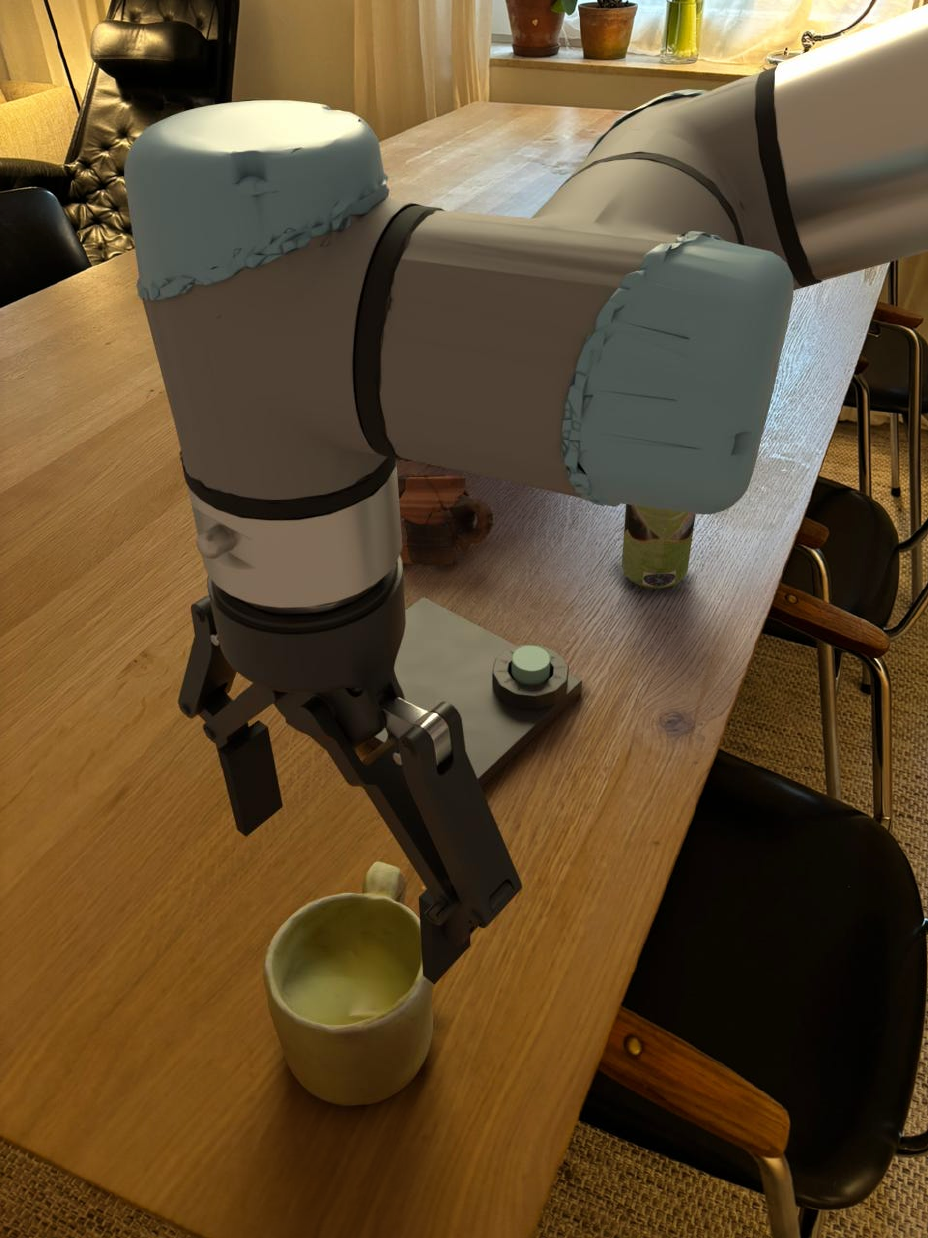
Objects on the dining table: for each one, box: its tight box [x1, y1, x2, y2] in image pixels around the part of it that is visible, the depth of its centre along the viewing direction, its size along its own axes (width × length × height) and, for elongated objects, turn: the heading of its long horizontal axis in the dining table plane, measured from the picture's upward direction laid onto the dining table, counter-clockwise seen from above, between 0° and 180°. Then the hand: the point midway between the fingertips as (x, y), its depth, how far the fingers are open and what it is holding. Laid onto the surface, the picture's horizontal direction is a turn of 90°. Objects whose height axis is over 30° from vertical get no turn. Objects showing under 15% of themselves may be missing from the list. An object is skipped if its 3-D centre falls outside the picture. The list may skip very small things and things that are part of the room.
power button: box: [512, 646, 550, 685], centre depth 78 cm, size 3×3×2 cm
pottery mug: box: [397, 474, 495, 567], centre depth 95 cm, size 12×10×8 cm
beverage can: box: [621, 504, 697, 589], centre depth 88 cm, size 6×7×12 cm
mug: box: [262, 860, 434, 1107], centre depth 57 cm, size 12×10×10 cm
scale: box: [366, 596, 583, 789], centre depth 79 cm, size 17×15×3 cm
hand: (347, 885), depth 52 cm, fingers open, 13 cm apart
